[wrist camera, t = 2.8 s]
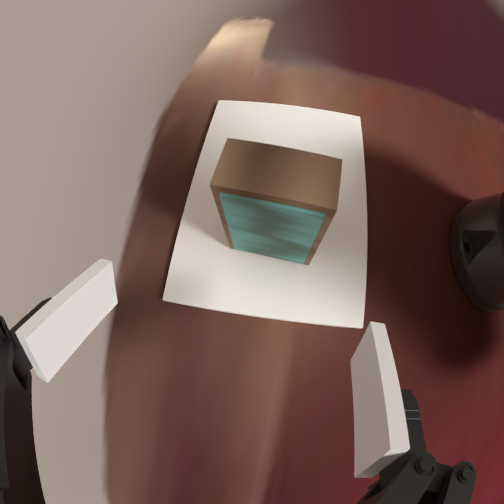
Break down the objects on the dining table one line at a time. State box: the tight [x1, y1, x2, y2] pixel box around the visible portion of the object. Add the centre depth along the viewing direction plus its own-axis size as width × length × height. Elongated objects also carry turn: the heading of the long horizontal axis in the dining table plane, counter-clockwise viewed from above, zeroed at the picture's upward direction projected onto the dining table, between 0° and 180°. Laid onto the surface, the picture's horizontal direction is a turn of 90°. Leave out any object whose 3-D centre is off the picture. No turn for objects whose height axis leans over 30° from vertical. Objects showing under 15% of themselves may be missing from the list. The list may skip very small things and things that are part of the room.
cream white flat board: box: [163, 100, 367, 329], centre depth 31 cm, size 28×20×1 cm
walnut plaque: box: [210, 138, 342, 265], centre depth 23 cm, size 8×4×12 cm, turn 76°
